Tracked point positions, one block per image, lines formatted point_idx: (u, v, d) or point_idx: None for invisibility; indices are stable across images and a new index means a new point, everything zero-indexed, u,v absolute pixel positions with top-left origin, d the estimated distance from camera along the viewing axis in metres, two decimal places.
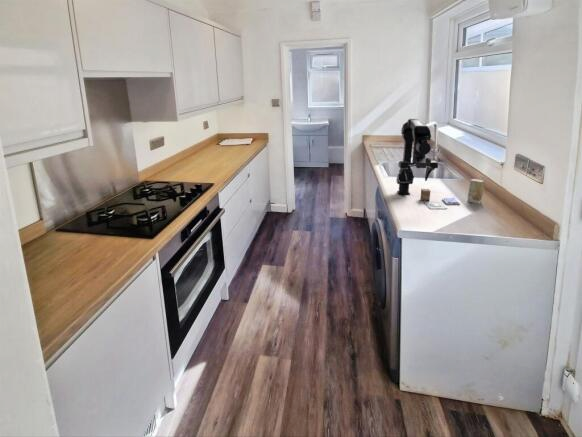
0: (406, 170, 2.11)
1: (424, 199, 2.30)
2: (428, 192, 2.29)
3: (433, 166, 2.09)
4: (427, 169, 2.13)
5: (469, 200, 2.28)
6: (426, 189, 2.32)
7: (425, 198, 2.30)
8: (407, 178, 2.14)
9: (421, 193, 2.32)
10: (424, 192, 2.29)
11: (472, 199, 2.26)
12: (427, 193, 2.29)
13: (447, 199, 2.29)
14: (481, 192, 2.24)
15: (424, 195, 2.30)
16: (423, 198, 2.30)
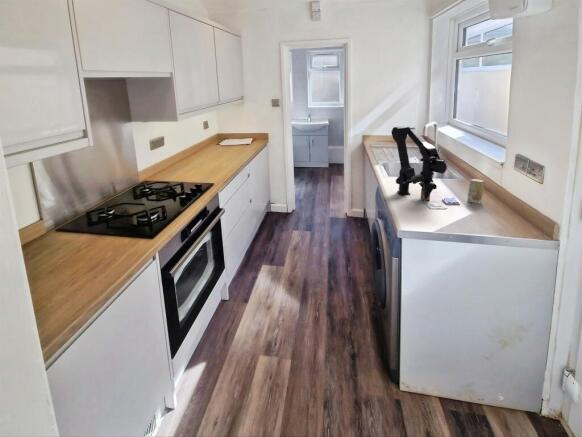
0: (420, 185, 2.34)
1: (424, 199, 2.30)
2: None
3: (423, 186, 2.23)
4: None
5: (469, 200, 2.28)
6: None
7: None
8: None
9: (421, 193, 2.32)
10: (424, 192, 2.29)
11: (472, 199, 2.26)
12: None
13: (447, 199, 2.29)
14: (481, 192, 2.24)
15: (424, 195, 2.30)
16: (423, 198, 2.30)
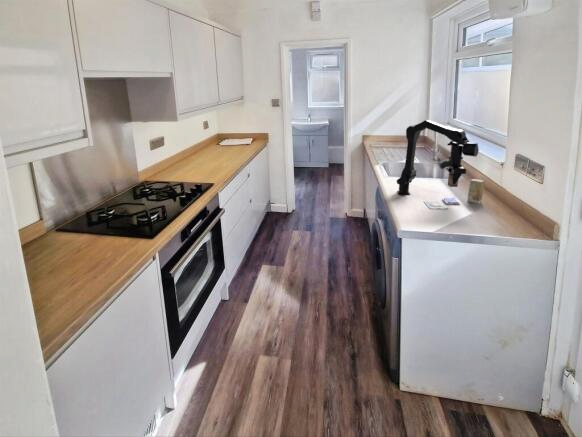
0: (447, 170, 2.26)
1: (452, 184, 2.23)
2: None
3: (452, 171, 2.15)
4: None
5: (469, 200, 2.28)
6: None
7: None
8: None
9: (449, 178, 2.25)
10: (452, 177, 2.22)
11: (472, 199, 2.26)
12: None
13: (447, 199, 2.29)
14: (481, 192, 2.24)
15: (452, 180, 2.22)
16: (451, 183, 2.23)
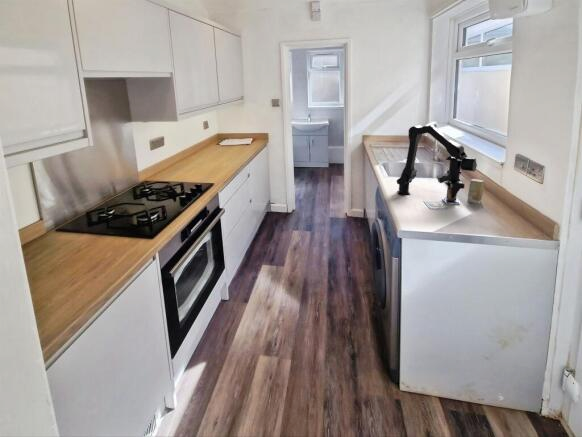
0: (446, 184, 2.29)
1: (450, 198, 2.25)
2: None
3: (451, 185, 2.18)
4: None
5: (469, 200, 2.28)
6: None
7: None
8: None
9: (447, 192, 2.27)
10: None
11: (472, 199, 2.26)
12: None
13: None
14: (481, 192, 2.24)
15: None
16: (449, 197, 2.25)
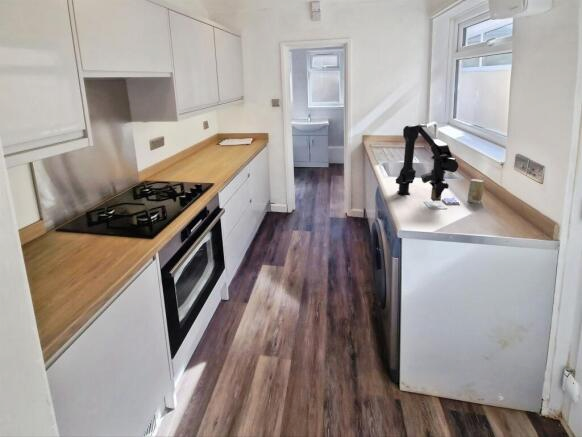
0: None
1: (435, 198, 2.20)
2: None
3: (435, 185, 2.12)
4: None
5: (469, 200, 2.28)
6: None
7: None
8: None
9: (432, 192, 2.22)
10: None
11: (472, 199, 2.26)
12: None
13: (447, 199, 2.29)
14: (481, 192, 2.24)
15: (435, 194, 2.19)
16: (434, 197, 2.20)
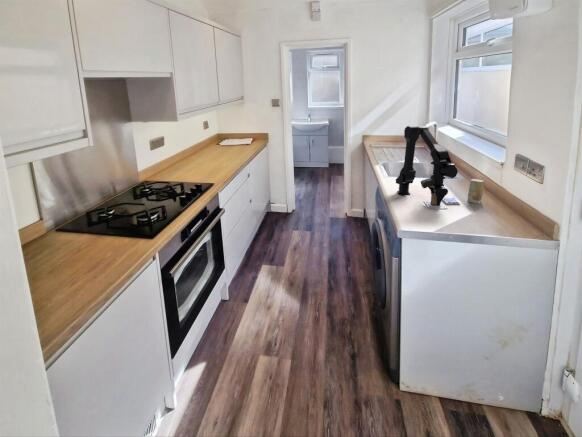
0: (429, 188, 2.26)
1: (434, 204, 2.21)
2: None
3: (434, 191, 2.13)
4: None
5: (469, 200, 2.28)
6: None
7: (436, 203, 2.21)
8: None
9: (431, 197, 2.23)
10: (435, 196, 2.19)
11: (472, 199, 2.26)
12: None
13: (447, 199, 2.29)
14: (481, 192, 2.24)
15: (434, 199, 2.20)
16: (433, 203, 2.21)
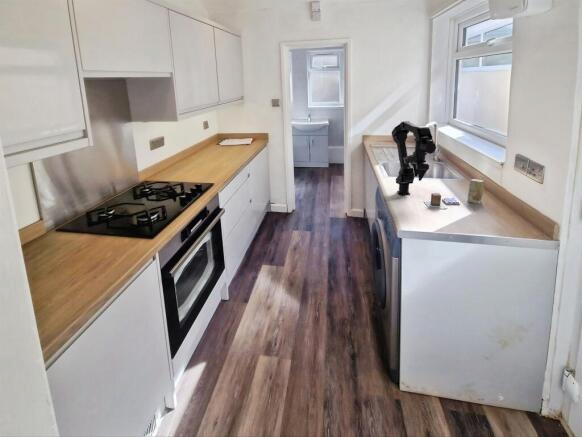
0: (412, 165, 2.33)
1: (434, 204, 2.21)
2: (439, 196, 2.19)
3: (416, 166, 2.20)
4: None
5: (469, 200, 2.28)
6: (436, 193, 2.22)
7: (436, 203, 2.21)
8: (414, 173, 2.33)
9: (431, 197, 2.23)
10: (435, 196, 2.19)
11: (472, 199, 2.26)
12: (438, 197, 2.20)
13: (447, 199, 2.29)
14: (481, 192, 2.24)
15: (434, 199, 2.20)
16: (433, 203, 2.21)
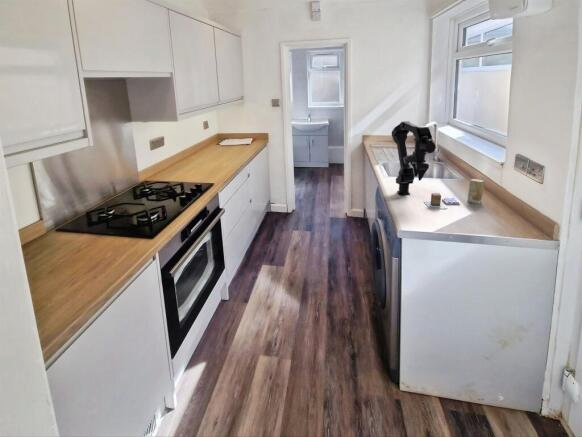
0: None
1: (434, 204, 2.21)
2: (439, 196, 2.19)
3: (416, 166, 2.20)
4: None
5: (469, 200, 2.28)
6: (437, 193, 2.22)
7: (436, 203, 2.21)
8: (414, 173, 2.33)
9: (431, 197, 2.23)
10: (435, 196, 2.19)
11: (472, 199, 2.26)
12: (438, 197, 2.20)
13: (447, 199, 2.29)
14: (481, 192, 2.24)
15: (434, 199, 2.20)
16: (433, 203, 2.21)
